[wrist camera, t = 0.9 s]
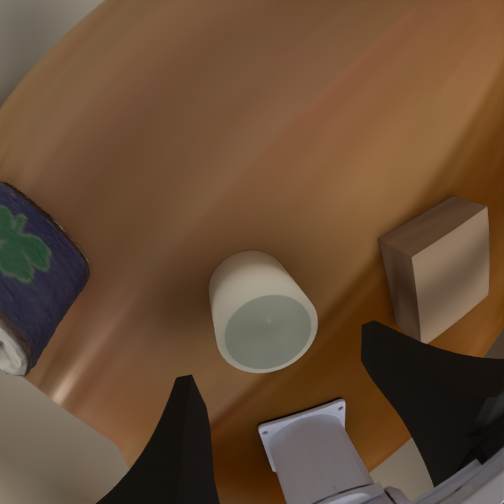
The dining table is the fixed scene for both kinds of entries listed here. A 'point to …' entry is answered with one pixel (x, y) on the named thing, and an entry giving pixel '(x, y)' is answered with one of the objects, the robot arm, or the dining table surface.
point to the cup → (259, 313)
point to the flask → (33, 279)
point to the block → (437, 267)
